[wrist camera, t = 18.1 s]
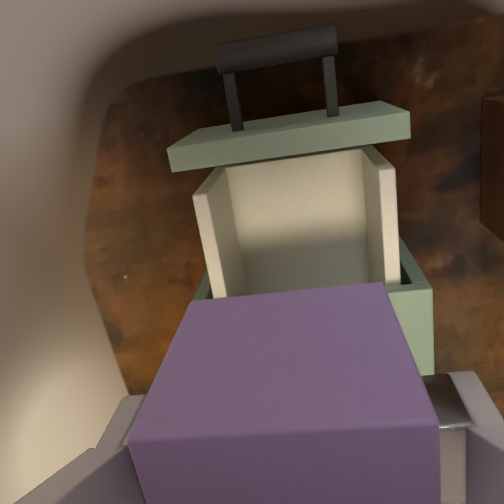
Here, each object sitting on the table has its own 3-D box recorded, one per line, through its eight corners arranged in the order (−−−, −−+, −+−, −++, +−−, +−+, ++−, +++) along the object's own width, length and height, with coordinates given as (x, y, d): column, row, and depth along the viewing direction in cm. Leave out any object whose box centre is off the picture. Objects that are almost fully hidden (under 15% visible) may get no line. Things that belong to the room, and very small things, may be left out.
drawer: (184, 56, 28) (145, 52, 21) (376, 22, 26) (406, 4, 19) (233, 314, 34) (217, 379, 27) (391, 298, 33) (418, 364, 26)
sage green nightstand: (215, 247, 33) (186, 312, 25) (394, 226, 32) (432, 288, 23) (247, 410, 39) (233, 512, 30) (403, 399, 37) (437, 505, 28)
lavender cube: (222, 447, 13) (185, 634, 8) (189, 299, 11) (123, 440, 7) (393, 438, 12) (444, 635, 8) (383, 280, 10) (441, 421, 6)
